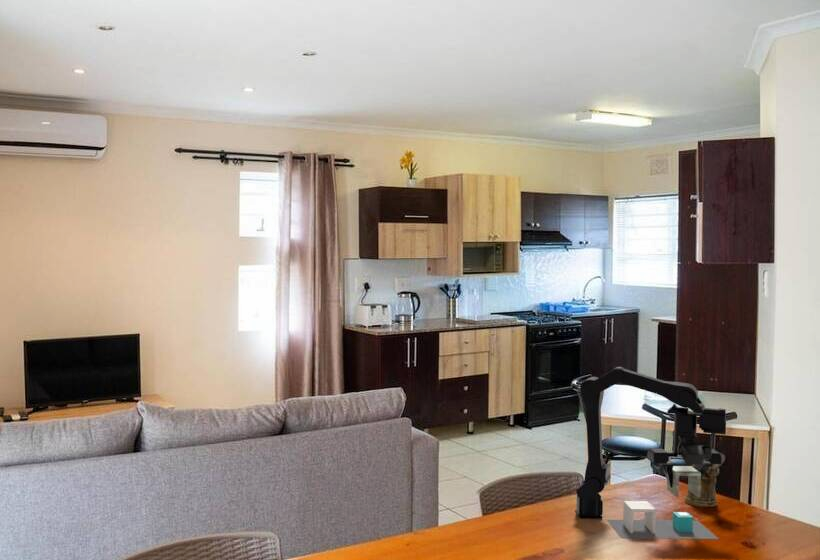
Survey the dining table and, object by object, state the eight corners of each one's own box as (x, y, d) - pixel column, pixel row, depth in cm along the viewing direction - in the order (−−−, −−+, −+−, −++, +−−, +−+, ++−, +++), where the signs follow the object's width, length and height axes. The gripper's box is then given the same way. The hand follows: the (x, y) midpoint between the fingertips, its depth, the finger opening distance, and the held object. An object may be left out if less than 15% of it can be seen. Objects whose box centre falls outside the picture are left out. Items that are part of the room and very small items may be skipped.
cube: (678, 531, 205) (678, 516, 205) (672, 526, 209) (672, 511, 209) (692, 531, 205) (693, 516, 205) (686, 526, 209) (687, 511, 209)
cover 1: (630, 533, 203) (631, 509, 203) (623, 524, 210) (623, 501, 210) (654, 533, 203) (655, 509, 203) (646, 524, 210) (647, 501, 210)
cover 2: (675, 496, 203) (676, 472, 203) (666, 489, 210) (667, 465, 210) (700, 497, 204) (701, 473, 203) (690, 489, 210) (691, 466, 210)
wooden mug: (703, 513, 221) (705, 452, 220) (679, 499, 234) (681, 441, 234) (731, 512, 222) (733, 451, 222) (705, 498, 236) (707, 440, 235)
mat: (621, 539, 199) (621, 538, 199) (606, 520, 213) (606, 519, 213) (718, 540, 200) (718, 538, 200) (697, 521, 214) (697, 520, 214)
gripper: (661, 437, 198) (660, 496, 198) (732, 438, 198) (730, 497, 199) (647, 427, 209) (645, 483, 210) (714, 428, 209) (712, 484, 210)
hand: (683, 487), depth 207 cm, fingers closed on cover 2, 7 cm apart
